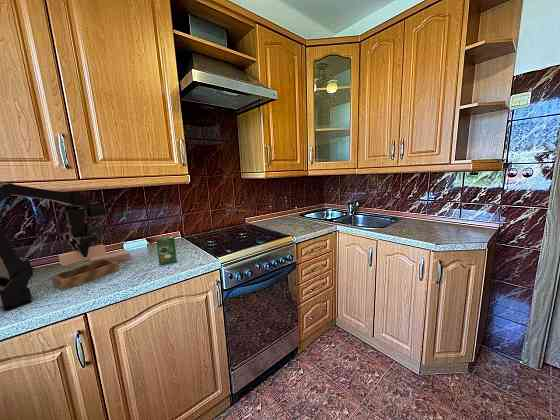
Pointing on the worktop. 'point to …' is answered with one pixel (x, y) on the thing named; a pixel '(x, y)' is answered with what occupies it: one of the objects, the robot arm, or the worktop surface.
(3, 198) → the robot arm
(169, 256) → the coffee box
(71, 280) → the wooden open tray
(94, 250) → the clay strip
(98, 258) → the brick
